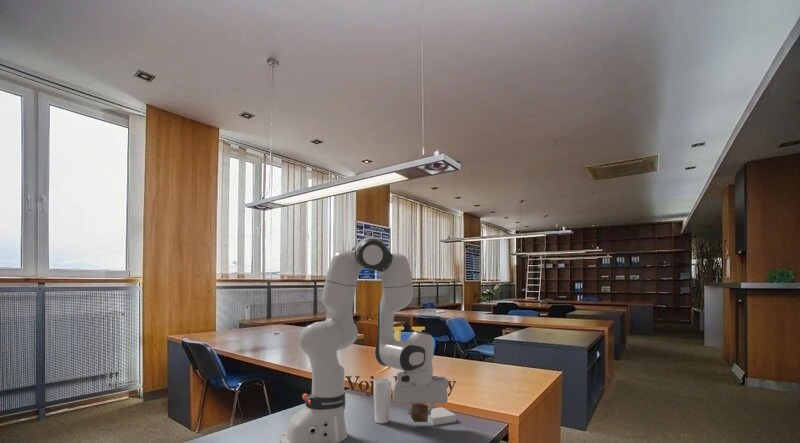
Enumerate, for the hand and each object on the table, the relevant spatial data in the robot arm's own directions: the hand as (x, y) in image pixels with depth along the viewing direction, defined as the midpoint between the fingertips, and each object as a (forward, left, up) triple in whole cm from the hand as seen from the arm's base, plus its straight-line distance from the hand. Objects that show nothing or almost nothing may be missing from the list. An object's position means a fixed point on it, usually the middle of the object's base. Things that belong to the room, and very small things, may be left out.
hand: (419, 414), depth 153 cm
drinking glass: (-11, +10, -4) cm, 15 cm away
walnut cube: (0, 0, -2) cm, 2 cm away
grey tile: (+10, +4, -4) cm, 12 cm away
